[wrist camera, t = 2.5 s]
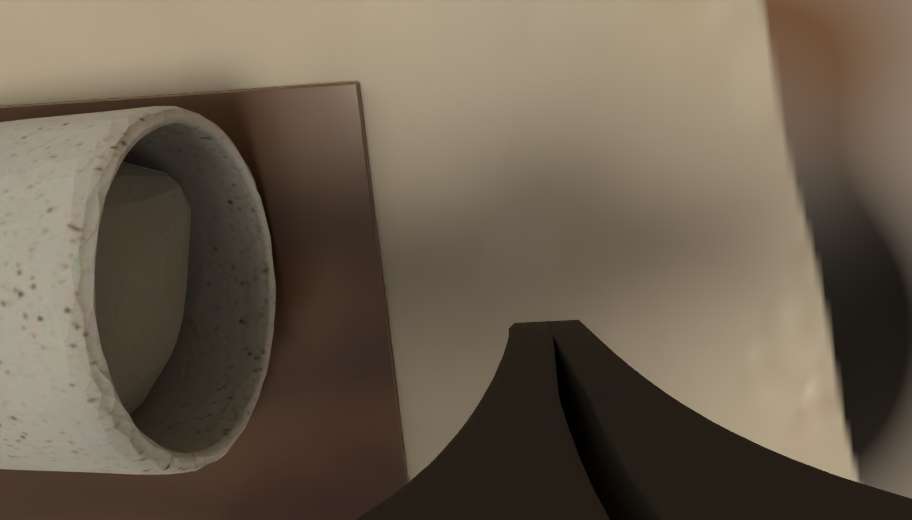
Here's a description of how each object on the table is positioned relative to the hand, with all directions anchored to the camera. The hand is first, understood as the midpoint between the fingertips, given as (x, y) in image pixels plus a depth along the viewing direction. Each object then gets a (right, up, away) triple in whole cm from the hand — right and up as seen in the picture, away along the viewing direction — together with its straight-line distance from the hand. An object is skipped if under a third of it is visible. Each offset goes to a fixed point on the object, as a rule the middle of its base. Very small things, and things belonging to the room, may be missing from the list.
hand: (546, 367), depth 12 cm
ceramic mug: (-10, +2, +6) cm, 12 cm away
